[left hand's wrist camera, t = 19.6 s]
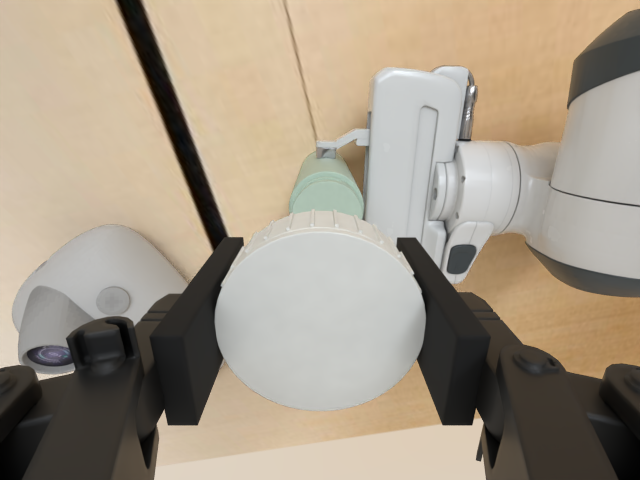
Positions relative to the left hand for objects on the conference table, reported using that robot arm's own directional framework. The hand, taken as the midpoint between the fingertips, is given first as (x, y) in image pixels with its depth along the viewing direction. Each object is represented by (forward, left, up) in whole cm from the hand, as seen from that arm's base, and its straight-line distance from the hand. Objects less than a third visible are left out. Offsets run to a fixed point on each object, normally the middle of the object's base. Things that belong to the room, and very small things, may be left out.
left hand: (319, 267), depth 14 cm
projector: (-13, -25, -26) cm, 38 cm away
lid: (0, 0, +4) cm, 4 cm away
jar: (+1, 0, -26) cm, 26 cm away
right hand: (0, -1, -19) cm, 19 cm away
